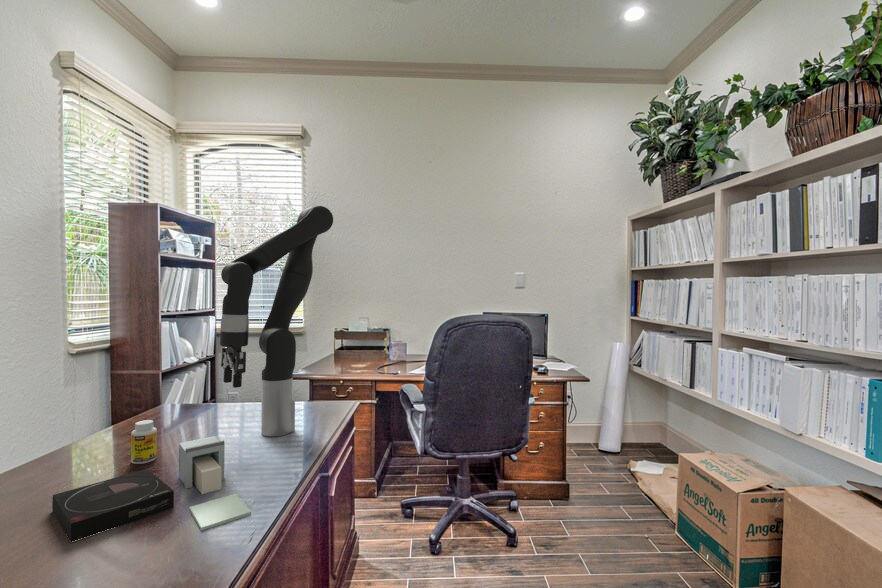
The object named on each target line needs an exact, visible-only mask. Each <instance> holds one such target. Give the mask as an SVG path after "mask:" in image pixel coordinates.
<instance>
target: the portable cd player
mask: <svg viewBox="0 0 882 588" xmlns="http://www.w3.org/2000/svg"><path fill="white" fill-rule="evenodd" d="M51 503H52V505H51V506H52V507H51V509H52V513H53V515H54V517H55V519H56V520H57V522H58V521H59V522H58V524H59V523H60V524H59V525H60V527H61V526H62V527H61V529H62V528H63V529H62V530H64V531H65V532H64V531H63V532H64V534H65V533H66V534H67V536H68V537H67V536H66V537H67V539H68V538H69V539H68V541H69V540H70V541H71V542H72V541H75V540H78V539H81V538H84V537H87V536H90V535H93V534H96V533H98V532H102V531H105V530H107V529H111V528H114V527H117V528H119V527H122V526H124V524H125V525H128V524H131V523H133V521H134V522H136V520H137V521H139V520H141V519H145V518H147V517H150V516H153V515H156V514H161V513H163V512H165V511H168V510H171V509H173V508H175V504H174V503H175V490H174V489H173V488H171V486H169V485H168V484H167V483H165V482H164V481H163V480H162V479H160V478H159V477H158V476H157V475H156V474H154V473H153V471H150V470H149V468H145V469H142V470H141V469H140V470H138V471H134V472H131V473H128V474H124V475H120V476H116V477H113V478H109V479H105V480H102V481H98V482H94V483H91V484H87V485H84V486H80V487H76V488H73V489H70V490H65V491H62V492H59V493H58V492H57V493H55V494H52V501H51ZM130 522H131V523H130ZM127 523H128V524H127ZM121 525H122V526H121ZM118 526H119V527H118ZM114 529H115V528H114ZM111 530H112V529H111ZM105 532H106V531H105ZM102 533H103V532H102ZM66 534H65V535H66ZM96 535H97V534H96ZM70 541H69V542H70Z"/></svg>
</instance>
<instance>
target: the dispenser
mask: <svg viewBox="0 0 882 588" xmlns="http://www.w3.org/2000/svg"><path fill="white" fill-rule="evenodd" d="M178 446H179V447H178V454H179V455H178V458H179V459H178V460H179V461H178V462H179V463H178V478H179V479H180V481H181V482H182V484H183V486H184V488H185V489H189V488H193V481H192V459H193V458H197V457H202V456H206V455H210V456H211V457H212V458H213V459H214V460H215V461H216V462H217V463H218V464H219V465H220V467H221V480H224V479H225V453H226V450H225V447H226V446H225V440H224V439H223V440H220V439H219V438H218V436H217V435H212V436H209V437H204V438H197V439H194V440H189V441H188V440H187V441H183V442H179V443H178Z"/></svg>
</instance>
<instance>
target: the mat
mask: <svg viewBox="0 0 882 588" xmlns="http://www.w3.org/2000/svg"><path fill="white" fill-rule="evenodd" d="M189 511H190V513H191V515H192V517H193V518H194V521H195V522H196V524H197V525H198V527H199V529H200V531H201V532H202V531H205V530H208V529H211V528H213V527H218V526H220V525H223V524H227V523H230V522H233V521H235V520H238V519H241V518H244V517H247V516H248V517H249V516H250V515H252V511H251V509H250V508H249V507H248V506H247V505H246V503H245V502H244V501H243V500H242V499H241V498H240V496H239V495H238V494H237V493H233V494H230V495H226V496H223V497H219V498H216V499H212V500H209V501H206V502H203V503H200V504H196V505H195V504H194V505H192V506H189Z"/></svg>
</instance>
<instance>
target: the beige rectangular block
mask: <svg viewBox="0 0 882 588" xmlns="http://www.w3.org/2000/svg"><path fill="white" fill-rule="evenodd" d="M193 482H194V483H193ZM192 483H193V484H194V485H195V487H196V488H197V490H198V491H199V493H201V494H202V495H204V494H207V493H211V492H215V491H218V490H221V489H222V479H221V467H220V465H219V464H218V463H217V462H216V461H215V460H214V459H213V458H212V457H211V456H210V455H206V456H202V457H197V458H193V459H192Z"/></svg>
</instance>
